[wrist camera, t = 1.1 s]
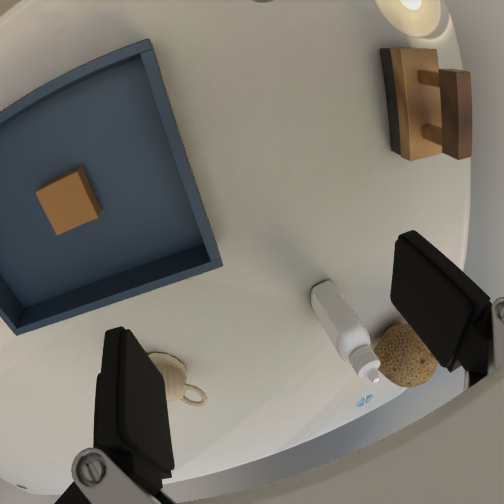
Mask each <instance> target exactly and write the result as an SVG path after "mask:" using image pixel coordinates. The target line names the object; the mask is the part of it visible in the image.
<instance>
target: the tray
mask: <svg viewBox="0 0 504 504" xmlns="http://www.w3.org/2000/svg"><path fill="white" fill-rule="evenodd" d="M80 166H82V167H83V169H84V172H85V174H86V177H87V179H88V181H89V183H90V186H91V188H92V190H93V192H94V195H95V197H96V199H97V201H98V203H99V206H100V208H101V212H100V215H99V217H98V218H97V219H94V220H92V221H89V222H87V223H85V224H82V225H80V226H78V227H75V228H73V229H71V230H69V231H66V232H64V233H62V234H60V235H57V234H56V232H55V231H54V229H53V227H52V225H51V223H50V221H49V219H48V217H47V215H46V213H45V211H44V209H43V207H42V205H41V203H40V201H39V199H38V197H37V195H36V193H35V192H36V191H37V190H38V189H39V188H40V187H41V186H42V185H44V184H45V183H47V182H49V181H51V180H53V179H55V178H57V177H59V176H61V175H63V174H65V173H67V172H70V171H72V170H74V169H76V168H78V167H80ZM222 266H223V263H222V260H221V256H220V253H219V250H218V247H217V243H216V240H215V237H214V235H213V232H212V229H211V226H210V223H209V220H208V217H207V214H206V211H205V208H204V206H203V203H202V200H201V197H200V194H199V191H198V188H197V185H196V182H195V179H194V176H193V173H192V170H191V167H190V164H189V161H188V158H187V155H186V151H185V148H184V145H183V142H182V139H181V136H180V133H179V130H178V127H177V124H176V120H175V117H174V114H173V111H172V108H171V104H170V101H169V98H168V95H167V92H166V88H165V85H164V82H163V79H162V75H161V72H160V69H159V65H158V62H157V59H156V55H155V52H154V48H153V45H152V43H151V41H150V39H145V40H142V41H139V42H137V43H134V44H131V45H129V46H126V47H123V48H121V49H118V50H116V51H113V52H111V53H108V54H106V55H104V56H101V57H99V58H97V59H95V60H92V61H90V62H88V63H86V64H84V65H81V66H79V67H77V68H75V69H73V70H71V71H69V72H67V73H65V74H63V75H61V76H59V77H57V78H56V79H54V80H52V81H50V82H48V83H46V84H45V85H43V86H41V87H39V88H38V89H36V90H34V91H32V92H31V93H29V94H27V95H26V96H24V97H22V98H21V99H19V100H18V101H16V102H14V103H13V104H11V105H10V106H8V107H7V108H5V109H4V110H2V111H1V112H0V316H1V318H2V319H3V320H4V322H5V323H6V324H7V325H8V326H9V328H10V329H11V330H12V331H13V333H14V334H15V335H16V336H17V335H20V334H23V333H26V332H29V331H32V330H35V329H38V328H41V327H44V326H47V325H50V324H53V323H56V322H59V321H62V320H65V319H68V318H71V317H74V316H77V315H80V314H83V313H86V312H89V311H92V310H95V309H98V308H101V307H104V306H107V305H110V304H113V303H116V302H119V301H122V300H125V299H128V298H131V297H134V296H137V295H140V294H143V293H146V292H148V291H151V290H154V289H157V288H160V287H163V286H166V285H169V284H172V283H175V282H178V281H181V280H184V279H187V278H190V277H193V276H196V275H199V274H202V273H204V272H207V271H210V270H213V269H216V268H219V267H222Z"/></svg>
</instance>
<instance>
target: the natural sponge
mask: <svg viewBox="0 0 504 504" xmlns="http://www.w3.org/2000/svg"><path fill="white" fill-rule="evenodd" d="M373 351H374V353H375V354H376V356H377V357H378V359H379V360H380V366H379V368H378V370H379V371H380V372H381V373H382V374H383V375H384V376H385V377H386V378H388V379H389V380H390V381H391V382H393V383H394V384H396V385H398V386H402V387H413V386H418V385H421V384H423V383H425V382H426V381H428V380H429V379H430V378H431V377H432V375H433V374H434V372H435V370H436V367H437V364H438V361H437V360H436V358H435V357H434V356H433V354H432V353H431V352H430V350H429V349H428V348H427V347H426V345H425V344H424V343H423V341H422V340H421V339H420V337H419V336H418V335H417V334H416V332H415V331H414V330H413V329H412V327H411V326H410V325H409V324H396V325H393V326H391V327H390V328H388V329H387V330H386V331H385V332H384V334H383V336H382V339H381V340H380V341H379V343H378V344H377V346H376V347H375V348H374V350H373Z"/></svg>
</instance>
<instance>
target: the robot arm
mask: <svg viewBox="0 0 504 504" xmlns="http://www.w3.org/2000/svg"><path fill="white" fill-rule="evenodd" d="M390 297H391V301H392V303H393V305H394V306H395V307H396V309H397V310H398V311H399V312H400V314H401V315H402V316H403V317H404V318H405V320H406V321H407V322H408V323H409V325H410V326H411V327H412V329H413V330H414V331H415V332H416V334H417V335H418V336H419V337H420V339H421V340H422V341H423V343H424V344H425V345H426V347H427V348H428V349H429V350H430V352H431V353H432V354H433V356H434V357H435V358H436V360H437V361H438V362H439V364H440V365H441V366H442V367H446V368H447V369H448V370H449V372H452V371H454V370H455V369H457V368H458V367H460V366H461V365H462V366H463V368H464V369H465V379H464V392H463V393H461V394H460V395H458V396H457V397H455V398H453V399H452V400H451V401H449V402H447V403H446V404H444V405H443V406H441V407H439V408H438V409H436V410H434V411H433V412H431V413H429V414H428V415H426V416H424V417H423V418H421V419H419V420H417V421H416V422H414V423H412V424H410V425H408V426H407V427H405V428H403V429H401V430H399V431H397V432H395V433H393V434H391V435H390V436H388V437H386V438H384V439H382V440H379V441H378V442H375V443H373V444H371V445H369V446H367V447H365V448H362V449H360V450H358V451H356V452H354V453H351V454H349V455H346V456H344V457H342V458H339V459H337V460H334V461H332V462H329V463H327V464H324V465H321V466H319V467H316V468H313V469H311V470H308V471H305V472H302V473H299V474H296V475H293V476H291V477H287V478H284V479H281V480H278V481H274V482H271V483H267V484H264V485H260V486H257V487H253V488H249V489H245V490H241V491H236V492H232V493H228V494H223V495H219V496H215V497H210V498H205V499H199V500H194V501H188V502H182V503H179V502H177V501H176V500H175V499H174V498H173V497H171V496H170V495H169V494H168V493H167V492H165V491H164V490H163V489H162V488H163V486H162V479H166V478H172V475H171V470H174V467H175V465H174V458H173V451H172V443H171V436H170V427H169V419H168V410H167V400H166V390H165V382H164V378H163V376H162V374H161V373H160V371H159V370H158V369H157V367H156V366H155V365H154V363H153V362H152V361H151V359H150V358H149V356H148V355H147V354H146V352H145V351H144V349H143V348H142V346H141V345H140V344H139V342H138V341H137V339H136V338H135V336H134V335H133V333H132V332H131V330H129V329H127V330H125V328H124V327H117V328H114V329H110V330H107V331H106V332H105V338H104V347H103V356H102V367H101V373H99V374H98V376H97V382H96V396H95V412H94V443H93V448H87V449H84V450H82V451H81V452H80V453H78V454H77V456H76V457H75V458H74V461H73V463H72V470H71V472H72V477H73V479H74V482H73V483H72V484H71V485H70V486H69V487H68V489H67V490H66V491H65V492H64V493H63V494H62V496H61V497H60V498H59V499H58V500H57V501H56V503H55V504H504V297H501V298H498V299H496V300H495V301H494V302H493V304H492V303H491V302H490V297H489V296H488V295H487V294H486V293H485V292H483V290H482V289H480V287H478V286H477V285H476V284H475V283H474V282H473V281H472V280H471V279H470V278H469V277H468V276H467V275H466V274H465V273H464V272H463V271H461V270H460V269H459V268H458V267H457V266H456V265H455V264H454V263H453V262H451V261H450V260H449V259H448V258H447V257H446V256H445V255H444V254H442V253H441V252H440V251H439V250H438V249H437V248H435V247H434V246H433V245H432V244H431V243H430V242H428V241H427V240H426V239H425V238H424V237H422V236H421V235H420V234H419V233H418V232H416V231H415V230H411V231H409V232H406V233H403V234H401V235H399V237H398V240H397V241H396V242H395V251H394V264H393V275H392V285H391V294H390Z"/></svg>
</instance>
